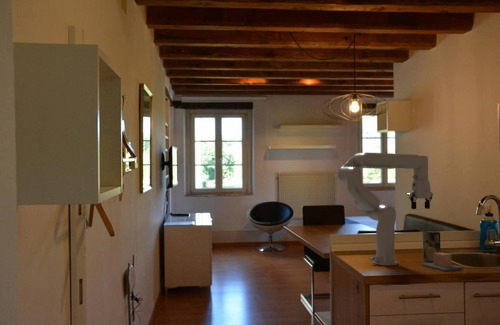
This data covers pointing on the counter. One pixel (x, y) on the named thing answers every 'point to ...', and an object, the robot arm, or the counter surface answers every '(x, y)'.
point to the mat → (449, 268)
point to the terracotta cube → (442, 259)
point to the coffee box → (430, 244)
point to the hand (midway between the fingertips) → (420, 208)
